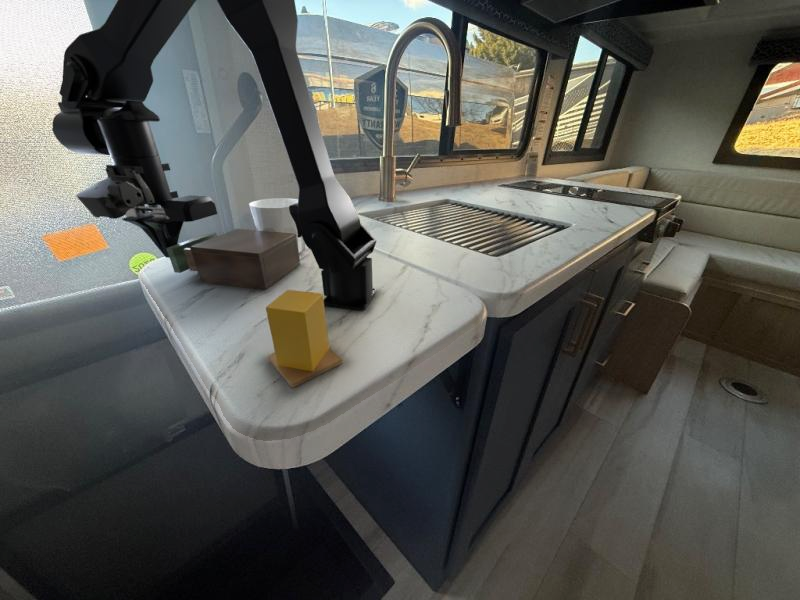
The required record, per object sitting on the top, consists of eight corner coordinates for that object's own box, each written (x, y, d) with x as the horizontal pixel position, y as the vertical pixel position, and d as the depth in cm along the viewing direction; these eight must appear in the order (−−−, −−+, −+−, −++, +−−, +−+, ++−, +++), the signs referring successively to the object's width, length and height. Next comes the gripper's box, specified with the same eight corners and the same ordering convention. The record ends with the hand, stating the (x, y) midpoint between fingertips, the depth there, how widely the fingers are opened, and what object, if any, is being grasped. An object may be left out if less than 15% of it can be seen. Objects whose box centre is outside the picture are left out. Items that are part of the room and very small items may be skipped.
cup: (273, 242, 71) (265, 197, 66) (316, 245, 70) (310, 199, 65) (249, 257, 62) (238, 206, 58) (296, 260, 61) (289, 209, 56)
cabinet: (200, 282, 52) (189, 246, 49) (244, 259, 61) (237, 228, 58) (266, 290, 49) (258, 253, 47) (300, 265, 59) (296, 233, 56)
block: (329, 348, 35) (323, 293, 32) (313, 371, 32) (304, 312, 29) (296, 343, 36) (287, 289, 33) (277, 365, 33) (265, 307, 29)
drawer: (168, 271, 53) (159, 247, 51) (211, 253, 62) (205, 231, 60) (231, 279, 51) (224, 254, 49) (267, 258, 59) (262, 236, 57)
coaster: (316, 340, 38) (315, 335, 37) (342, 363, 34) (342, 358, 34) (268, 360, 34) (267, 355, 34) (292, 388, 30) (291, 383, 30)
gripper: (18, 157, 41) (74, 268, 48) (135, 163, 37) (177, 281, 45) (106, 153, 50) (142, 246, 58) (206, 157, 47) (230, 256, 54)
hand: (170, 257), depth 53 cm, fingers closed
